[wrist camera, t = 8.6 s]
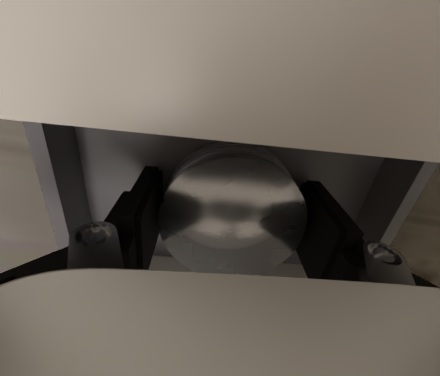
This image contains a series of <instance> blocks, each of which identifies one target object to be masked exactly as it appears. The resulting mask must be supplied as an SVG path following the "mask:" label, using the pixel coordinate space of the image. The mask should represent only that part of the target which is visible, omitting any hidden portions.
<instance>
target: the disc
mask: <svg viewBox="0 0 440 376" xmlns="http://www.w3.org/2000/svg"><path fill="white" fill-rule="evenodd" d="M306 226H307V208H306V204H305V201H304V198H303V196H302V194H301V192H300V190H299V189H298V187H297V185H296V184H295V182H294V180H293V179H292V177H291V175H290V174H289V172H288V170H287V169H286V167H285V165H284V164H283V163H282V162H281V161H280V160H279V158H277V157H276V156H275V155H274V154H273V153H271V152H270V151H268V150H267V149H265V148H263V147H261V146H258V145H256V144H247V143H237V142H227V141H219V142H215V143H211V144H208V145H205V146H203V147H201V148H199V149H197V150H195V151H193V152H192V153H191V154H189V155H188V156H187V157H186V158H184V159H183V160H182V161H181V163H180V164H179V165H178V166H177V167H176V169H175V171H174V172H173V174H172V177H171V179H170V181H169V184H168V186H167V189H166V191H165V194H164V197H163V199H162V202H161V204H160V208H159V212H158V228H159V232H160V236H161V239H162V241H163V243H164V245H165V246H166V248H167V250H168V251H169V252H170V253H171V255H172V256H173V257H174V258H175V259H177V260H178V261H179V262H180V263H181V264H183V265H184V266H186V267H188V268H189V269H191V270H193V271H195V272H201V273H219V274H237V275H258V274H261V273H264V272H266V271H268V270H271V269H273V268H274V267H276V266H278V265H279V264H281V263H282V262H283V261H285V260H286V259H287V258H288V257H289V256H290V255H291V254H292V253H293V252H294V251H295V250H296V248H297V247H298V245H299V244H300V242H301V240H302V238H303V236H304V233H305V230H306Z"/></svg>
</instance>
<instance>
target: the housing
mask: <svg viewBox="0 0 440 376" xmlns="http://www.w3.org/2000/svg"><path fill="white" fill-rule="evenodd" d="M0 119H8V120H18V121H28V122H38V123H48V124H57V125H67V126H77V127H87V128H97V129H107V130H117V131H127V132H137V133H147V134H157V135H167V136H177V137H187V138H197V139H207V140H217V141H227V142H237V143H247V144H257V145H267V146H277V147H287V148H297V149H307V150H317V151H327V152H337V153H347V154H357V155H367V156H377V157H387V158H397V159H407V160H417V161H427V162H437V163H440V0H0Z"/></svg>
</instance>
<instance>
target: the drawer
mask: <svg viewBox="0 0 440 376" xmlns="http://www.w3.org/2000/svg"><path fill="white" fill-rule="evenodd" d="M23 125H24V129H25V132H26V136H27V139H28V143H29V146H30V150H31V153H32V157H33V160H34V164H35V167H36V171H37V174H38V178H39V181H40V185H41V189H42V192H43V196H44V199H45V203H46V206H47V210H48V213H49V217H50V220H51V224H52V227H53V231H54V234H55V238H56V241H57V245H58V249H59V250H60V249H63V248H65V247H67V246H68V245H69V237H70V234H71V233H72V232H73V231H74V230H75V229H76V228H78V227H79V226H81V225H84V224H86V223H90V222H96V221H104V220H105V218H106V217H107V215H108V214H109V212H110V211H111V209H112V208H113V206H114V205H115V203H116V202H117V200H118V199H119V197H120V195H121V194H122V193H123V191H130V190H131V189H132V187H133V186H134V184H135V182H136V181H137V179H138V177H139V176H140V174H141V172H142V171H143V169H144V167H145V166H155V167H158V168H159V170H162V171H163V197H164V194H165V191H166V189H167V186H168V184H169V181H170V179H171V177H172V174H173V172H174V171H175V169H176V167H177V166H178V165H179V164H180V163H181V161H182V160H183V159H184V158H186V157H187V156H188V155H189V154H191V153H192V152H193V151H195V150H197V149H199V148H201V147H203V146H205V145H208V144H211V143H215V142H219V141H217V140H207V139H197V138H187V137H177V136H167V135H157V134H147V133H137V132H127V131H117V130H107V129H97V128H87V127H77V126H67V125H57V124H48V123H38V122H28V121H23ZM256 145H257V144H256ZM258 146H261V147H263V148H265V149H267V150H268V151H270V152H271V153H273V154H274V155H275V156H276V157H277V158H279V160H280V161H281V162H282V163H283V164H284V165H285V167H286V169H287V170H288V172H289V174H290V175H291V177H292V179H293V180H294V182H295V184H296V185H297V187H298V189H299V190H300V188H301V185H302V183H305V182H306V181H307V180H311V181H320V182H321V183H322V184H323V186H324V187H325V188H326V189H327V190H328V192H329V193H330V194H331V195H332V196H333V197H334V199H335V200H336V201H337V202H338V203H339V204H340V206H341V207H342V208H343V209H344V210H345V212H346V213H347V214H348V215H349V216H350V217H351V219H352V220H353V221H354V222H355V223H356V224H357V226H358V227H359V228H360V229H361V230H362V232H363V233H364V235H363V237H362V239H363V240H364V241H365V242H366V241H378V242H382V243H385V244H387V245H389V246H390V245H391V243H392V242H393V240H394V238H395V237H396V235H397V233H398V232H399V230H400V228H401V227H402V225H403V223H404V222H405V220H406V218H407V217H408V215H409V213H410V212H411V210H412V208H413V206H414V205H415V203H416V201H417V200H418V198H419V196H420V195H421V193H422V191H423V190H424V188H425V186H426V185H427V183H428V181H429V180H430V178H431V176H432V175H433V173H434V171H435V170H436V168H437V166H438V165H439V163H437V162H427V161H417V160H407V159H397V158H387V157H377V156H367V155H357V154H347V153H337V152H327V151H317V150H307V149H297V148H287V147H277V146H267V145H258ZM149 270H163V271H182V272H195V271H193V270H191V269H189V268H188V267H186V266H184V265H183V264H181V263H180V262H179V261H178V260H177V259H175V258H174V257H173V256H172V255H171V253H170V252H169V251H168V250H167V248H166V246H165V245H164V243H163V241H162V239H161V236H160V233H159V236H158V240H157V243H156V246H155V250H154V253H153V256H152V260H151V263H150V266H149ZM255 276H274V277H291V278H307V275H306V273H305V271H304V268H303V266H302V264H301V261H300V259H299V257H298V254H297V252H296V250H295V251H294V252H293V253H292V254H291V255H290V256H289V257H288V258H287V259H286V260H285V261H283V262H282V263H281V264H279V265H278V266H276V267H274V268H273V269H271V270H268V271H266V272H264V273H261V274H258V275H255Z"/></svg>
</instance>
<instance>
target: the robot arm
mask: <svg viewBox="0 0 440 376" xmlns="http://www.w3.org/2000/svg"><path fill="white" fill-rule="evenodd" d="M300 192H301V194H302V196H303V198H304V201H305V204H306V208H307V226H306V230H305V233H304V236H303V238H302V240H301V242H300V244H299V245H298V247H297V248H296V252H297V254H298V257H299V259H300V261H301V264H302V266H303V268H304V271H305V273H306V275H307V278H291V277H274V276H255V275H237V274H219V273H201V272H182V271H163V270H149V266H150V263H151V260H152V256H153V253H154V250H155V246H156V243H157V240H158V236H159V233H160V232H159V228H158V212H159V208H160V204H161V202H162V199H163V171H162V170H159V168H158V167H155V166H145V167H144V169H143V171H142V172H141V174H140V176H139V177H138V179H137V181H136V182H135V184H134V186H133V187H132V189H131V190H130V191H123V193H122V194H121V195H120V197H119V199H118V200H117V202H116V203H115V205H114V206H113V208H112V209H111V211H110V212H109V214H108V215H107V217H106V218H105V220H104V221H96V222H90V223H86V224H84V225H81V226H79V227H78V228H76V229H75V230H74V231H73V232H72V233H71V234H70V237H69V245H68V246H67V247H65V248H63V249H60V250H58V251H55V252H53V253H50V254H48V255H45V256H43V257H40V258H38V259H35V260H33V261H30V262H28V263H25V264H23V265H20V266H18V267H15V268H13V269H10V270H8V271H5V272H3V273H0V376H440V288H439V287H438V286H436V285H434V284H432V283H430V282H428V281H426V280H424V279H422V278H420V277H418V276H416V275H414V274H412V273H411V271H410V269H409V266H408V263H407V261H406V259H405V257H404V256H403V255H402V254H401V253H400V252H399V251H397V250H396V249H394V248H393V247H391V246H389V245H387V244H385V243H382V242H378V241H366V242H365V241H364V240H363V239H362V237H363V235H364V233H363V232H362V230H361V229H360V228H359V227H358V226H357V224H356V223H355V222H354V221H353V220H352V219H351V217H350V216H349V215H348V214H347V213H346V212H345V210H344V209H343V208H342V207H341V206H340V204H339V203H338V202H337V201H336V200H335V199H334V197H333V196H332V195H331V194H330V193H329V192H328V190H327V189H326V188H325V187H324V186H323V184H322V183H321V182H320V181H311V180H307V181H306V182H305V183H302V185H301V188H300Z"/></svg>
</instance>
